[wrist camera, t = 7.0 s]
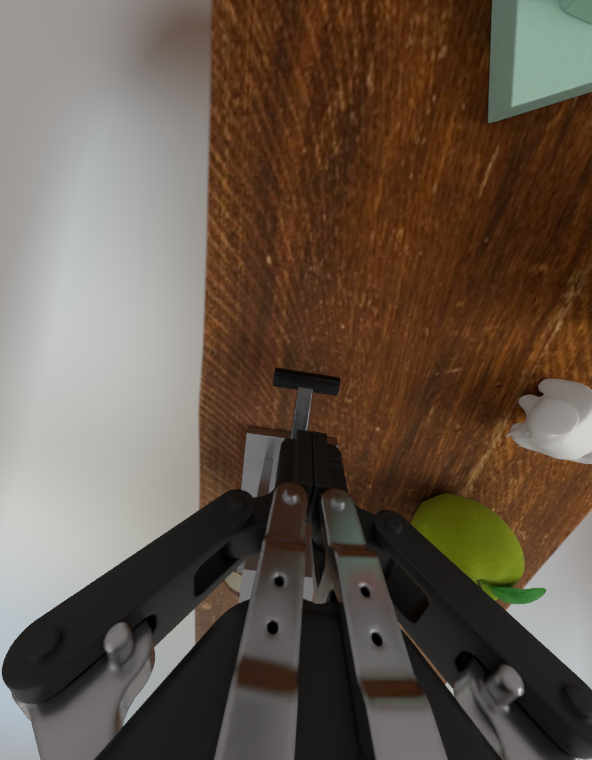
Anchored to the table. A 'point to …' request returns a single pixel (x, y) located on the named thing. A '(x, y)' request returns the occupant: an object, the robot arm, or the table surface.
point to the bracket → (260, 482)
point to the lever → (304, 392)
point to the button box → (538, 54)
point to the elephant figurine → (557, 421)
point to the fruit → (476, 545)
